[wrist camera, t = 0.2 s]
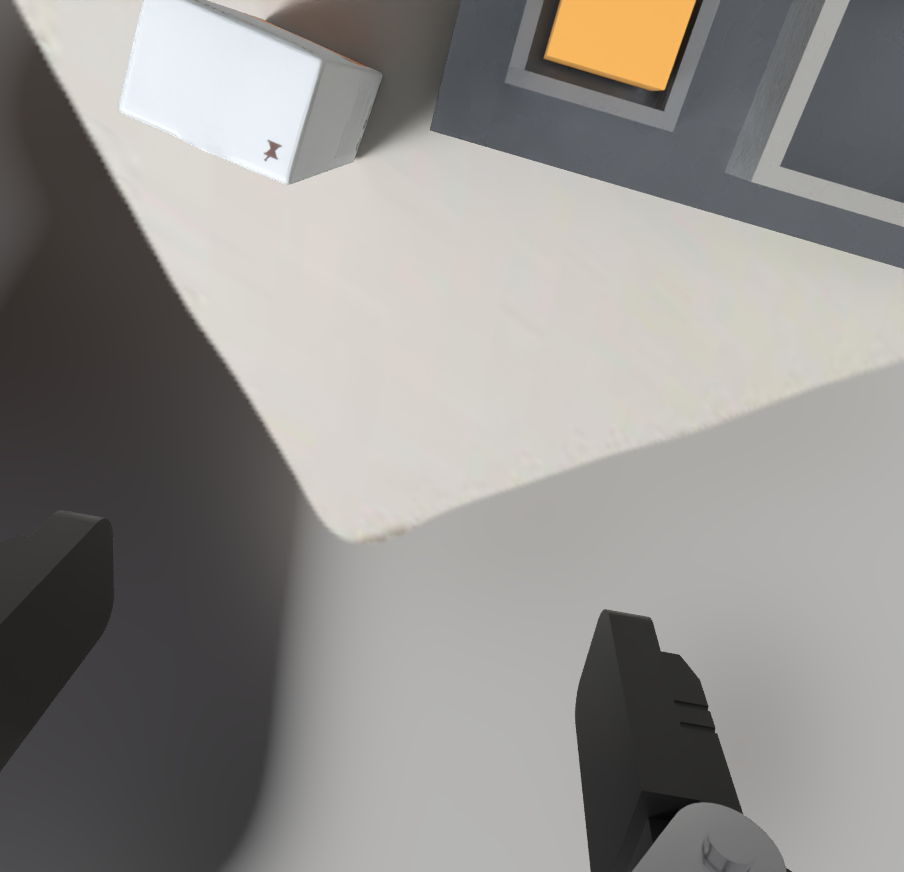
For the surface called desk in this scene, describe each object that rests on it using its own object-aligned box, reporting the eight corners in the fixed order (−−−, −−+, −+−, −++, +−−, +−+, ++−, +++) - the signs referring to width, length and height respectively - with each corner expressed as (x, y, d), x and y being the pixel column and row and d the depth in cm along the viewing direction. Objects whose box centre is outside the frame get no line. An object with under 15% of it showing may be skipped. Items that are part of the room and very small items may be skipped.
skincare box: (386, 71, 35) (331, 59, 24) (355, 163, 37) (290, 192, 26) (258, 13, 34) (142, -25, 24) (232, 110, 36) (113, 116, 25)
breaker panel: (510, -185, 31) (510, -251, 25) (1068, -10, 32) (1195, -34, 26) (434, 128, 36) (420, 134, 30) (922, 270, 37) (1001, 304, 31)
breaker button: (579, -70, 29) (587, -87, 26) (693, -35, 29) (713, -49, 26) (543, 58, 30) (546, 55, 28) (650, 90, 31) (664, 90, 28)
